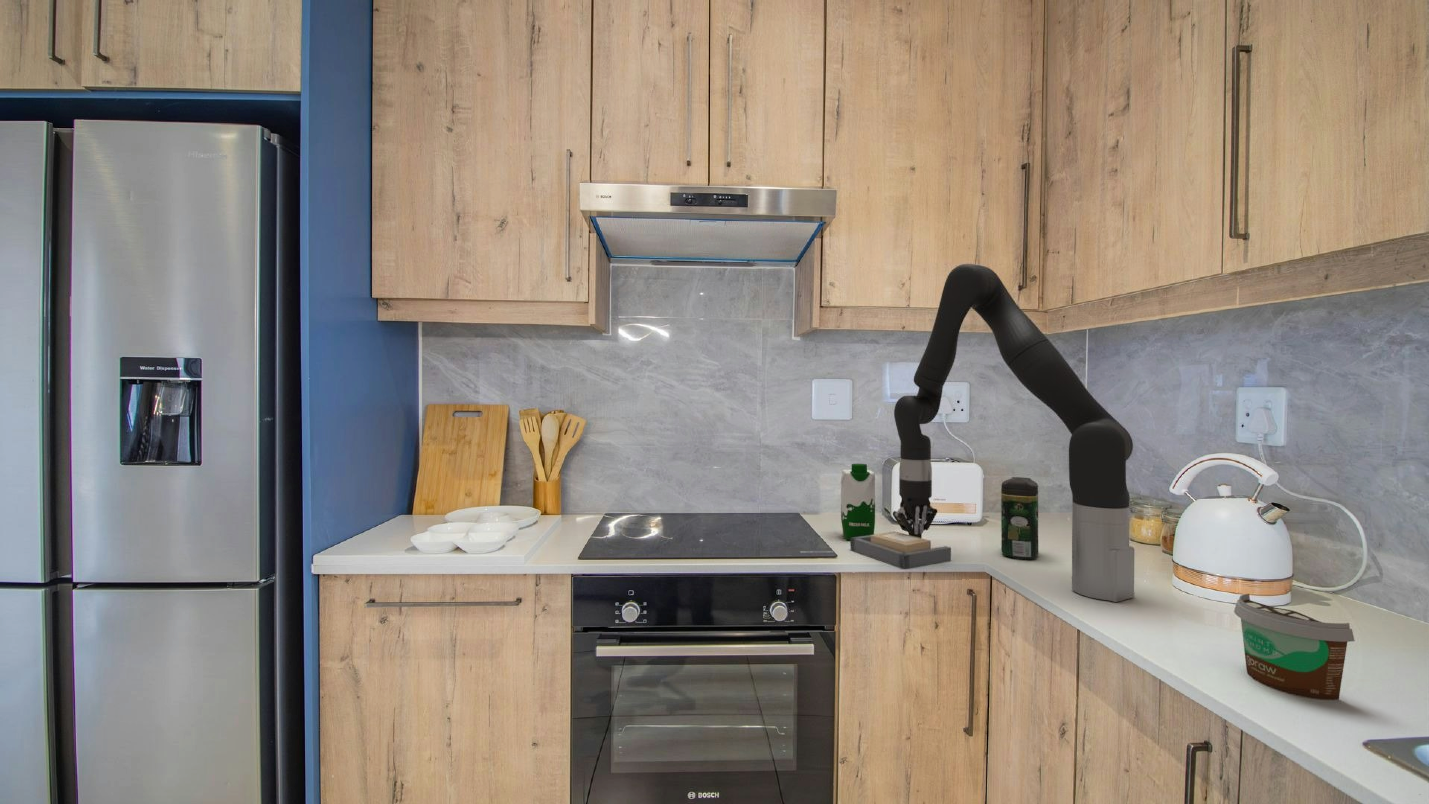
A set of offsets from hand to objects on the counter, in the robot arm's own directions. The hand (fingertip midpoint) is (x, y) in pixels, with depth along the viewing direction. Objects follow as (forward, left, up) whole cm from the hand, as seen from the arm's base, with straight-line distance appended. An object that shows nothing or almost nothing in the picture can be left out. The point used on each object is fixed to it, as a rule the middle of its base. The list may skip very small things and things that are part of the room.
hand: (915, 548), depth 143 cm
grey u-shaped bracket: (0, +4, -1) cm, 5 cm away
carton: (-2, +7, -1) cm, 7 cm away
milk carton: (+18, +2, -1) cm, 18 cm away
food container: (-70, +6, -1) cm, 70 cm away
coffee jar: (-13, -21, -1) cm, 24 cm away
